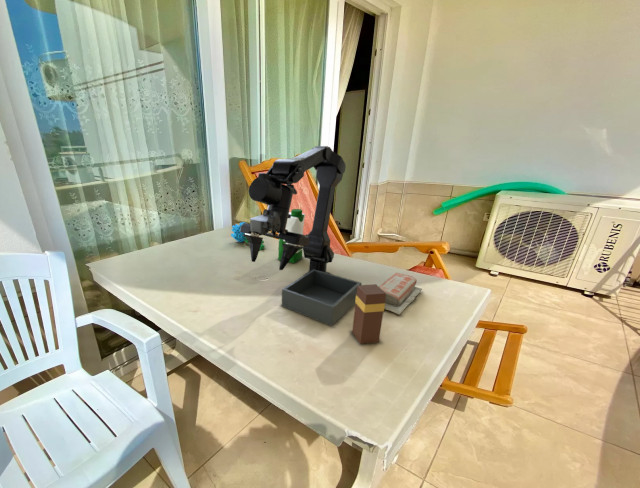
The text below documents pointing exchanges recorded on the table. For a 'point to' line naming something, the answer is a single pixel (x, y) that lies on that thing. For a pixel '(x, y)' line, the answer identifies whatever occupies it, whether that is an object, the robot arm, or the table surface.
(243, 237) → the toy flower
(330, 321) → the open storage bin
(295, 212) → the milk carton
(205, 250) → the table surface
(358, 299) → the chocolate box
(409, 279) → the packaged product
